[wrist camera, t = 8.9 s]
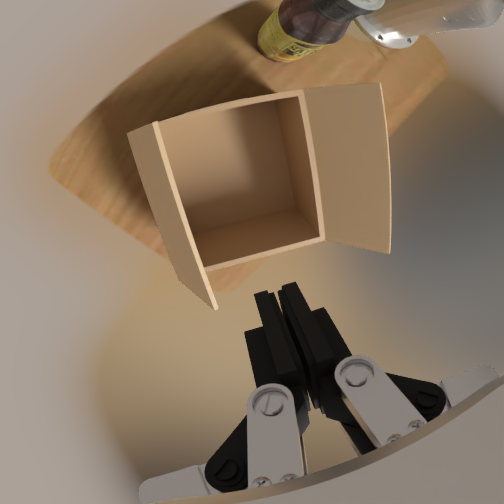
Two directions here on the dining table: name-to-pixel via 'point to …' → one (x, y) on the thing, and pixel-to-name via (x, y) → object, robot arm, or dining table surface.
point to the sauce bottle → (308, 26)
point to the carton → (246, 177)
